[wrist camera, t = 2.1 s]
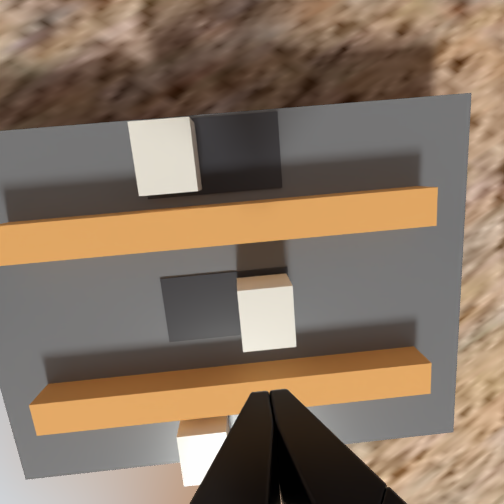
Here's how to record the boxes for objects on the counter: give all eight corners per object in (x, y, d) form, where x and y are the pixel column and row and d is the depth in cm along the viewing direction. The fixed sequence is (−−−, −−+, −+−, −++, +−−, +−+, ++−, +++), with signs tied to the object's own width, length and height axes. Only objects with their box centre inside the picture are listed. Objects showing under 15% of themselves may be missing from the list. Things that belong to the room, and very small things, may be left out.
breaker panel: (427, 108, 16) (503, 81, 11) (419, 393, 19) (476, 459, 15) (-12, 144, 15) (-114, 130, 11) (58, 431, 19) (2, 513, 14)
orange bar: (417, 185, 14) (437, 187, 12) (416, 220, 14) (436, 225, 13) (8, 222, 13) (-18, 227, 12) (17, 257, 13) (-8, 266, 12)
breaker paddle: (286, 273, 14) (292, 285, 12) (289, 328, 14) (296, 346, 13) (236, 278, 14) (237, 290, 12) (242, 332, 14) (243, 352, 13)
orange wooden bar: (413, 346, 15) (431, 363, 14) (413, 374, 15) (430, 393, 14) (47, 384, 15) (28, 405, 13) (54, 412, 15) (36, 435, 14)
